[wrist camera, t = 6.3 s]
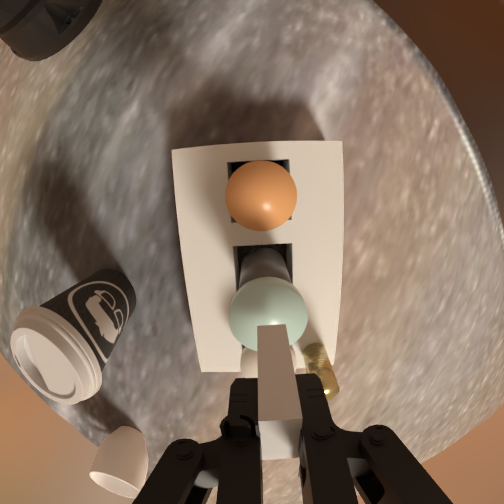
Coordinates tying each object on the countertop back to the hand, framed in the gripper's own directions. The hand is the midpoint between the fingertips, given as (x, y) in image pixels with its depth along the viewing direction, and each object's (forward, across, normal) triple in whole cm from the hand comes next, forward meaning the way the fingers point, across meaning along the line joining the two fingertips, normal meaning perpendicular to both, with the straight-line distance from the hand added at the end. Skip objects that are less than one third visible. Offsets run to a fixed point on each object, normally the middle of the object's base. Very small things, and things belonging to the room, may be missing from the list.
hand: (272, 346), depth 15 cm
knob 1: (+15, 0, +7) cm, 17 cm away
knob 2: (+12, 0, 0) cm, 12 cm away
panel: (+16, 0, 0) cm, 16 cm away
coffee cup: (+16, -18, -4) cm, 24 cm away
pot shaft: (+11, +5, -9) cm, 14 cm away
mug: (+16, -25, -33) cm, 44 cm away
